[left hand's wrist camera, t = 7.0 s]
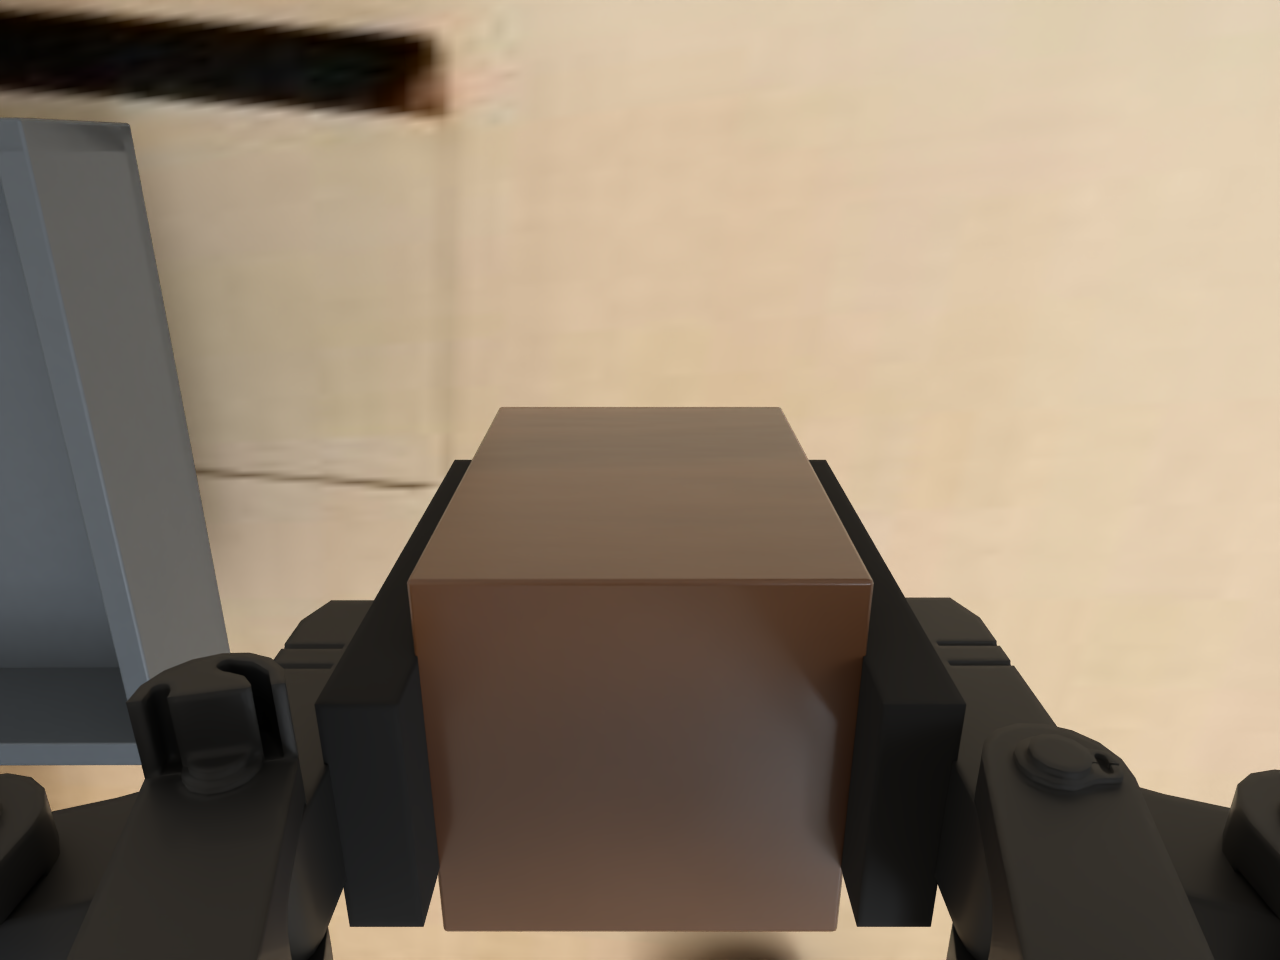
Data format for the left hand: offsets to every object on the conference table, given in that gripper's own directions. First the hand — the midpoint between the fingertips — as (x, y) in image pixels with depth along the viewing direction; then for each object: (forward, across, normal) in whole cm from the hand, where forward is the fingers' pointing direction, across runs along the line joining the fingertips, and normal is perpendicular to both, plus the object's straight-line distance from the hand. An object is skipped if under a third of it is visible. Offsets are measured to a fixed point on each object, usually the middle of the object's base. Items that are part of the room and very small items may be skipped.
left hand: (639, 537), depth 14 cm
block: (0, 0, 0) cm, 0 cm away
